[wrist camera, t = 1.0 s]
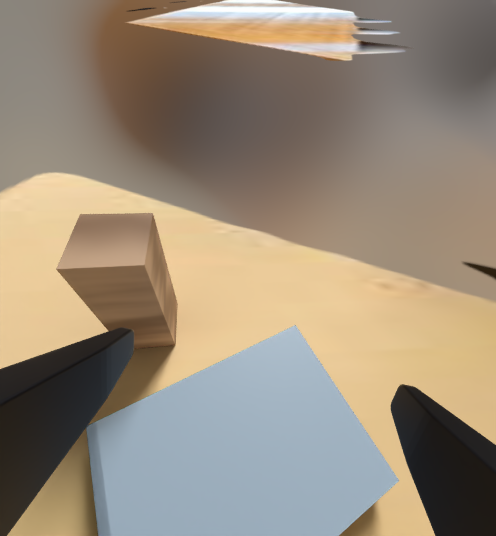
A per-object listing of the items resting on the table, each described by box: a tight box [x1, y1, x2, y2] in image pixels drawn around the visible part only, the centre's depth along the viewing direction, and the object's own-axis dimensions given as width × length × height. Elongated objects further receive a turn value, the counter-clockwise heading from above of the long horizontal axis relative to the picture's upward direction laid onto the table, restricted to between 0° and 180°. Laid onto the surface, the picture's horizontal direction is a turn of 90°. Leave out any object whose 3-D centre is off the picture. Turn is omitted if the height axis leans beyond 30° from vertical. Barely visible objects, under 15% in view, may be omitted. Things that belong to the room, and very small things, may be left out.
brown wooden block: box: [57, 213, 177, 349], centre depth 20 cm, size 4×4×12 cm
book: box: [86, 325, 399, 536], centre depth 17 cm, size 17×12×3 cm
